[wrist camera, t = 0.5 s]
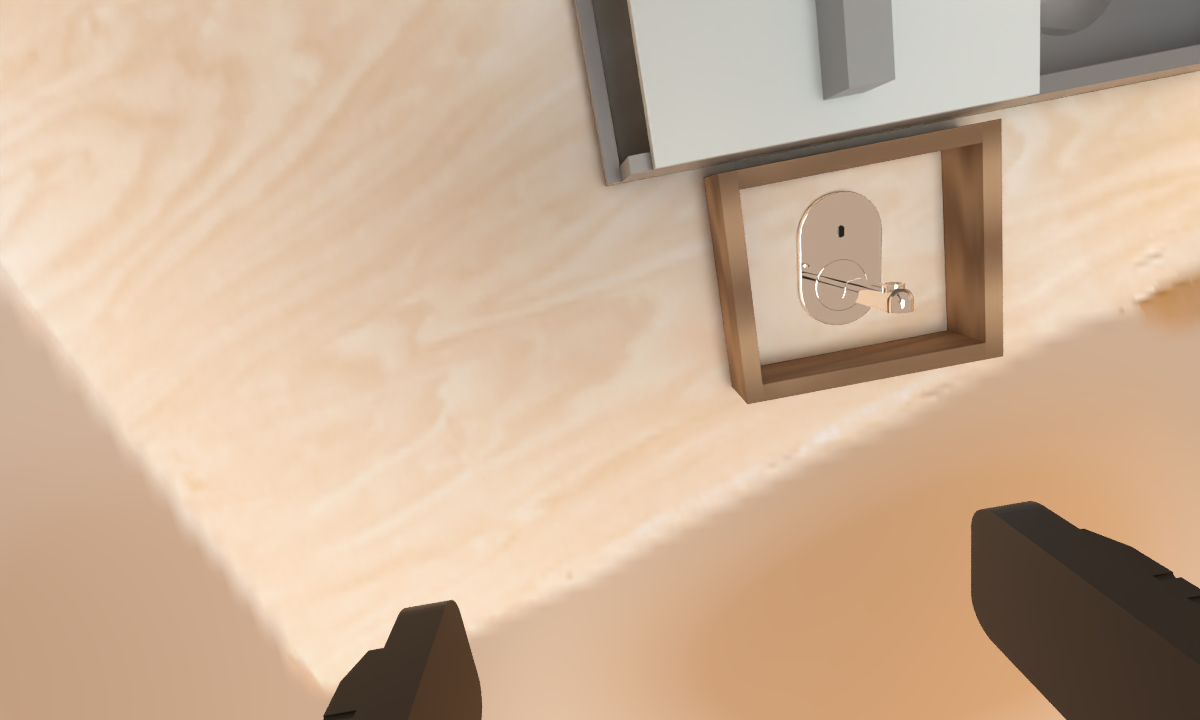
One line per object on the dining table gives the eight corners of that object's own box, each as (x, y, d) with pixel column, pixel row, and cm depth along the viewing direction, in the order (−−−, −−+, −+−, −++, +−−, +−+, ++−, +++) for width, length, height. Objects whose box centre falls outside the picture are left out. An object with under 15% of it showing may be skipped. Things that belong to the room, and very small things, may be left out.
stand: (878, 187, 34) (876, 319, 36) (796, 196, 34) (798, 327, 36) (962, 179, 26) (953, 345, 28) (856, 191, 26) (855, 356, 28)
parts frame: (703, 178, 33) (717, 173, 30) (957, 128, 33) (1001, 118, 30) (732, 386, 36) (747, 404, 33) (963, 342, 36) (1003, 356, 33)
